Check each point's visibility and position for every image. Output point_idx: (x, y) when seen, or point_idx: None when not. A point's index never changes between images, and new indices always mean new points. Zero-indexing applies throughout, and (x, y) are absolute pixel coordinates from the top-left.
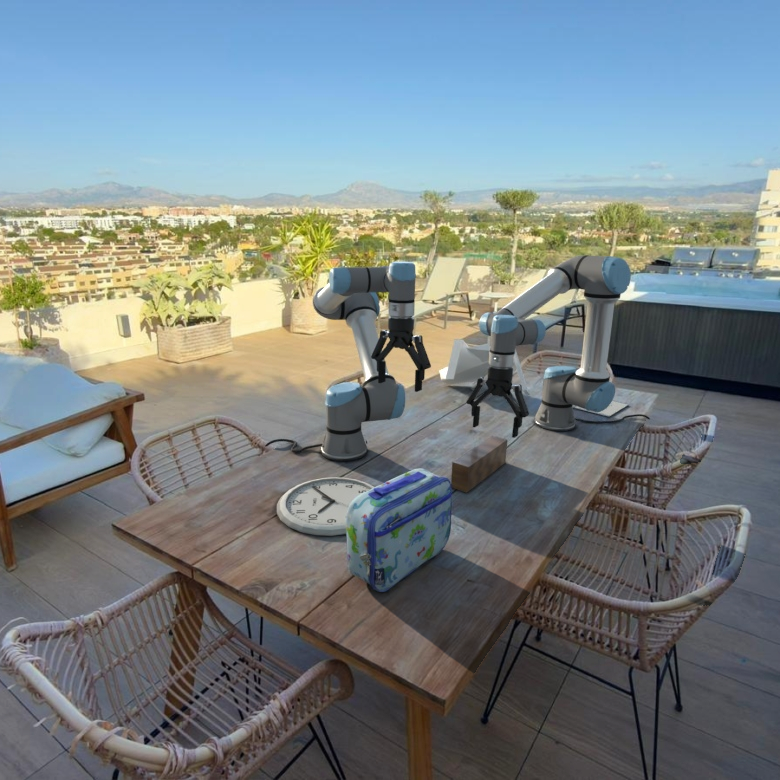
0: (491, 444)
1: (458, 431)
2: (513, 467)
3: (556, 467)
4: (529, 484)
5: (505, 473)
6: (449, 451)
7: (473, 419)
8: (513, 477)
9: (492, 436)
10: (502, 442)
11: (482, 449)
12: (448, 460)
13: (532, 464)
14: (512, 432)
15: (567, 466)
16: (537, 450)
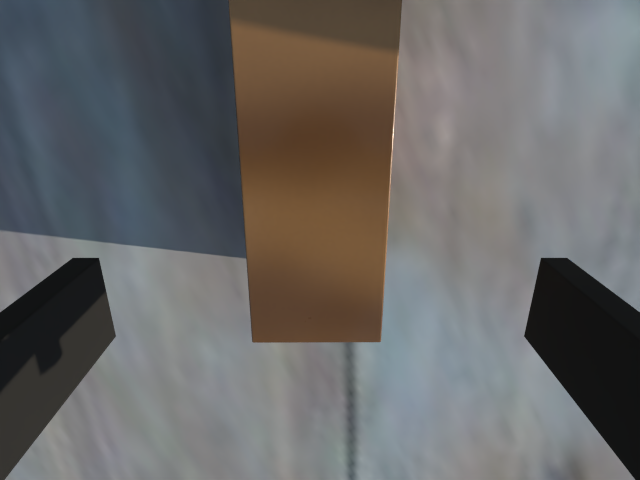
0: (303, 177)
1: None
2: (210, 237)
3: None
4: (28, 95)
5: (204, 139)
6: (603, 201)
7: (624, 304)
8: (142, 120)
9: (372, 327)
10: (252, 272)
11: (314, 9)
12: (566, 79)
13: (157, 325)
14: (67, 284)
15: None
16: (221, 463)
